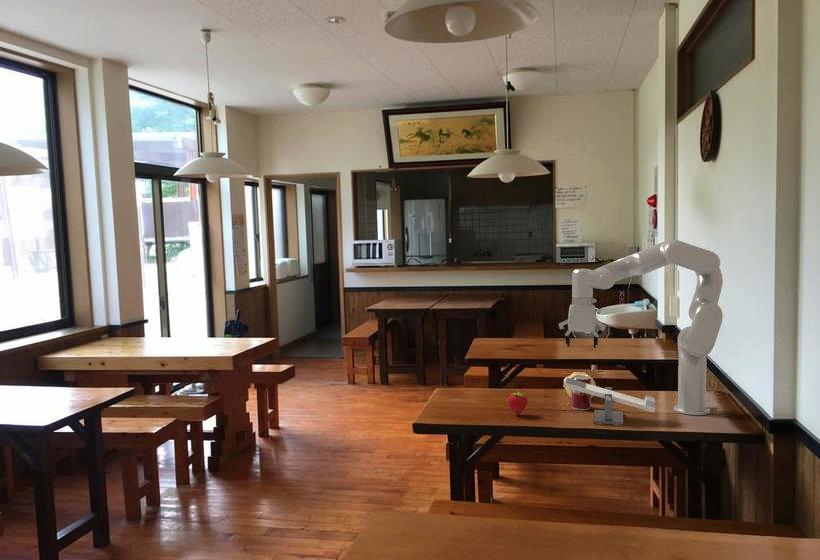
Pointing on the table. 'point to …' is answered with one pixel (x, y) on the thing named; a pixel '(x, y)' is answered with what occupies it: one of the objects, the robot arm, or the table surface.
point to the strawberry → (517, 402)
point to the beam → (617, 397)
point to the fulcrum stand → (608, 412)
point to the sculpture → (576, 375)
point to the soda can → (581, 395)
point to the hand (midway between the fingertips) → (581, 346)
